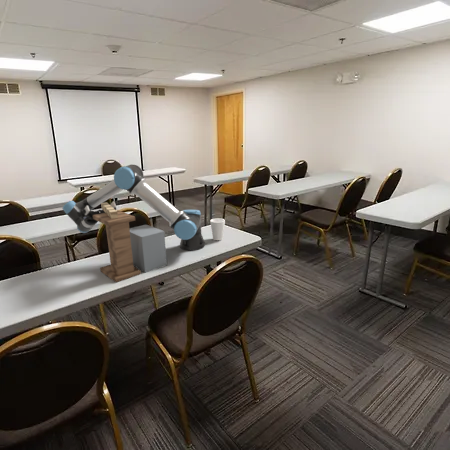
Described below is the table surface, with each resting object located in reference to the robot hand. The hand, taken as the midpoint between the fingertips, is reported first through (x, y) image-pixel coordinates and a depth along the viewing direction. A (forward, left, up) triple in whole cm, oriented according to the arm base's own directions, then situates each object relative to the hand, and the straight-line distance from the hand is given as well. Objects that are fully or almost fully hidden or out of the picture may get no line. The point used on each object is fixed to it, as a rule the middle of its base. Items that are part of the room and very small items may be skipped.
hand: (101, 205), depth 160 cm
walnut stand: (-6, +11, -33) cm, 35 cm away
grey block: (-20, +3, -33) cm, 39 cm away
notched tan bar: (-4, +4, -3) cm, 6 cm away
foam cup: (-65, -25, -33) cm, 77 cm away
